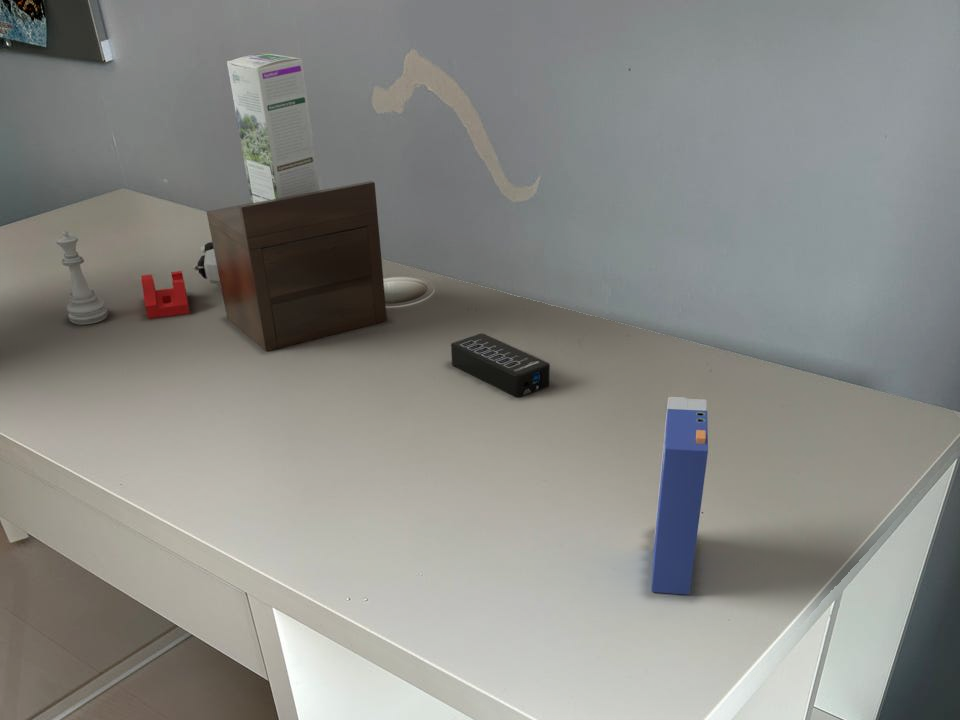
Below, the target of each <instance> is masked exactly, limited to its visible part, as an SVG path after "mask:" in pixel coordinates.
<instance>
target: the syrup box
mask: <svg viewBox="0 0 960 720" xmlns="http://www.w3.org/2000/svg"><path fill="white" fill-rule="evenodd" d="M226 62H227V63H226V66H227V71H228V76H229V82H230V88H231V93H232V99H233V105H234V112H235V117H236V122H237V127H238V134H239V139H240V145H241V151H242V156H243V162H244V163H243V164H244V168H245V174H246V180H247V185H248V190H249V196H250V203H256V202H261V201H267V200H272V199H277V198H283V197H288V196H293V195H299V194H304V193H309V192H315V191H320V190H321V189H320V182H319V174H318V167H317V160H316V152H315V144H314V136H313V130H312V129H313V128H312V123H311V117H310V116H311V113H310V107H309V99H308V92H307V85H306V84H307V83H306V77H305V69H304V63H303V59H302V58H300V57H294V56H288V55H281V54H275V53H256V54H250V55H245V56H241V57H237V58H234V59H231V60H227V61H226Z"/></svg>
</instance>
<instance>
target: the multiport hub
mask: <svg viewBox="0 0 960 720" xmlns="http://www.w3.org/2000/svg"><path fill="white" fill-rule="evenodd" d="M450 352H451V366H452V367H455V368H456V369H458V370H460V371H463V372H465V373H466V374H468V375H471V376H473V377H475V378H477V379H478V380H481V381H483V382H485V383H487V384H489V385H491V386H493V387H495V388H496V389H498V390H501V391H503V392H505V393H506V394H508V395H510V396H512V397H514V398H522V397H524V396H527V395H530V394H532V393H534V392H537V391H540V390H543V389H545V388H548V387H550V370H551V369H550V367H551V366H550V362H547V361H545V360H543V359H541V358H539V357H537V356H535V355H532V354H529V353H528V352H525V351H523V350H521V349H518V348H517V347H515V346H512V345H510V344H507V343H505V342H504V341H501V340H499V339H497V338H494V337H492V336H491V335H487V334H486V333H478V334H474V335H472V336H469V337H465V338H463V339H459V340H456V341H454V342H452V343H450Z"/></svg>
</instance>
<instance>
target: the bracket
mask: <svg viewBox="0 0 960 720" xmlns="http://www.w3.org/2000/svg"><path fill="white" fill-rule="evenodd" d="M170 275H171V283H172V287H171V288H161V289H156V286H155V280H154V276H153V274H143V275H142V274H141V275H140V281H141V287H142V293H143V301H144V307H145V311H146V315H147V319H157V318H165V317H171V316H172V317H173V316H181V315H188V314H191V313H190V306H189V300H188V293H187V289H186V284H185V279H184V275H183V271H182V270H177V271H170Z"/></svg>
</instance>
